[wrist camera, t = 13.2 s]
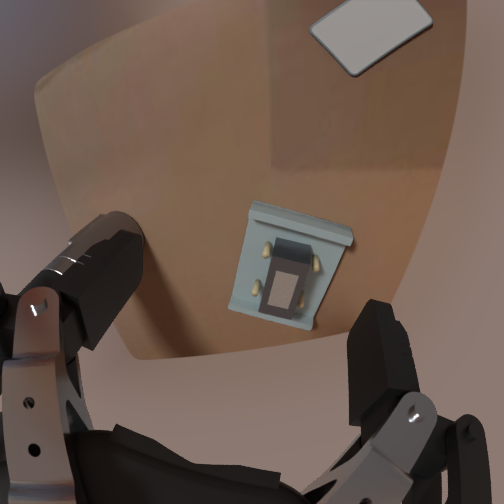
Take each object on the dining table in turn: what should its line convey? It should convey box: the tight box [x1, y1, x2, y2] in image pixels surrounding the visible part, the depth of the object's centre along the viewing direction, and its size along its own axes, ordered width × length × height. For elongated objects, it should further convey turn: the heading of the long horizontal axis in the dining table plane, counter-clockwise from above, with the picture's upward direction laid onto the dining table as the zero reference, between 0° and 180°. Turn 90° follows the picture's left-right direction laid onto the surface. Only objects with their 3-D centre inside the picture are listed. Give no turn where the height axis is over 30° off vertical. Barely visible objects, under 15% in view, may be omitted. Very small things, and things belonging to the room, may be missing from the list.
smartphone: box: [310, 0, 433, 76], centre depth 25 cm, size 8×1×15 cm
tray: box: [228, 200, 353, 331], centre depth 44 cm, size 14×18×4 cm
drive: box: [258, 237, 311, 320], centre depth 42 cm, size 10×5×5 cm, turn 171°
